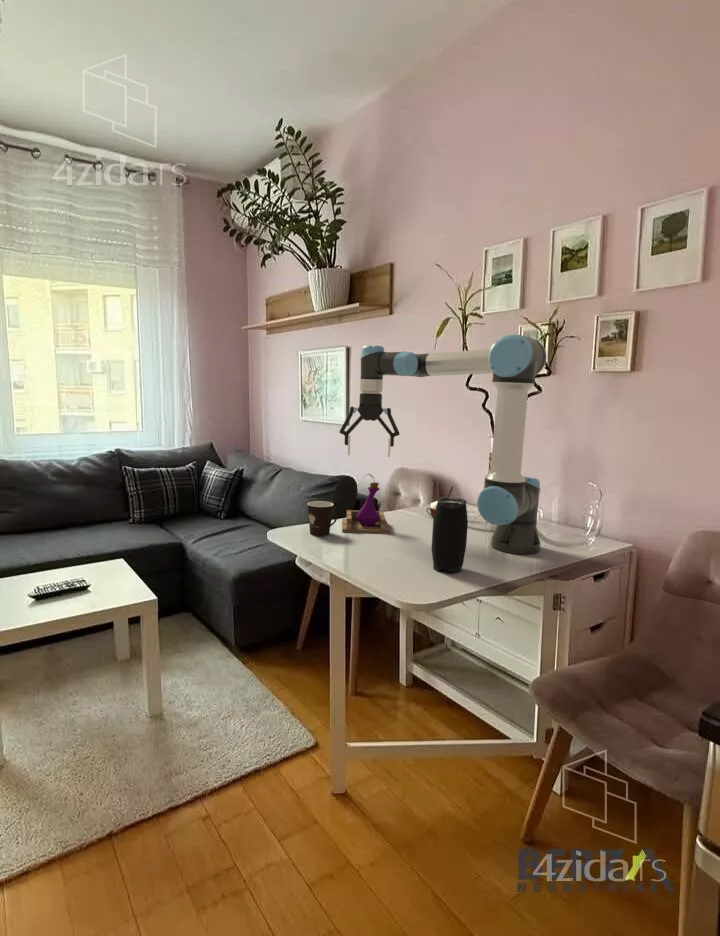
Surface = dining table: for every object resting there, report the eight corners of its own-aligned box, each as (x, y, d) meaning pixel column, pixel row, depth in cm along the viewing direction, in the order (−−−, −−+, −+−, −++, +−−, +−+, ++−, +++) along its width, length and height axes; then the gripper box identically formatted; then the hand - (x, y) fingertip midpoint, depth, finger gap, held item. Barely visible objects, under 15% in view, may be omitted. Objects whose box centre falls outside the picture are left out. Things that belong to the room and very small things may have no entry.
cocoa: (425, 518, 215) (425, 487, 213) (429, 514, 221) (429, 484, 219) (449, 520, 212) (450, 489, 210) (453, 516, 217) (454, 486, 215)
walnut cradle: (389, 533, 190) (390, 520, 189) (342, 532, 189) (342, 519, 189) (386, 523, 204) (387, 511, 203) (342, 521, 203) (342, 509, 202)
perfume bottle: (378, 522, 200) (381, 472, 197) (378, 528, 192) (380, 476, 190) (357, 521, 200) (359, 471, 198) (356, 526, 193) (358, 475, 190)
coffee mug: (304, 530, 189) (304, 501, 188) (328, 529, 192) (329, 500, 190) (312, 540, 178) (312, 509, 177) (338, 539, 181) (339, 508, 179)
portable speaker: (425, 565, 158) (429, 497, 155) (455, 563, 161) (459, 496, 158) (439, 575, 150) (443, 503, 147) (470, 573, 153) (475, 502, 150)
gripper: (406, 393, 194) (403, 455, 197) (333, 391, 193) (332, 452, 196) (409, 394, 186) (406, 458, 189) (333, 391, 185) (331, 455, 188)
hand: (368, 455), depth 193 cm, fingers open, 13 cm apart
